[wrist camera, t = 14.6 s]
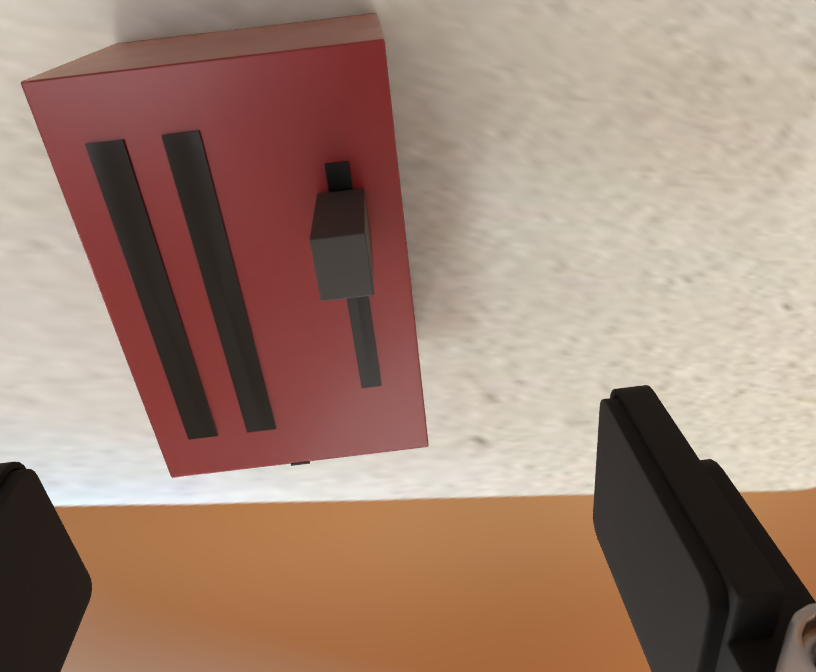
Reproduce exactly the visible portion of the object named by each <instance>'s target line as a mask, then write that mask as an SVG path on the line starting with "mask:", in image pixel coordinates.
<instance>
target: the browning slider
mask: <svg viewBox="0 0 816 672" xmlns="http://www.w3.org/2000/svg"><path fill="white" fill-rule="evenodd" d="M309 242H310V247H311V252H312V258H313V263H314V268H315V273H316V279H317V284H318V289H319V294H320V300H321V301H330V300H339V299H347V298H355V297H364V296H372V295H374V276H373V256H372V240H371V233H370V225H369V218H368V211H367V204H366V197H365V190H364V189H363V188H361V189H353V190H344V191H336V192H328V193H319V194H317V196H316V202H315V208H314V214H313V220H312V227H311V233H310V239H309Z"/></svg>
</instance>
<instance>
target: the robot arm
mask: <svg viewBox="0 0 816 672" xmlns="http://www.w3.org/2000/svg"><path fill="white" fill-rule="evenodd" d="M593 522H594V528H595V532H596V535H597V538H598V541H599V543H600V546H601V548H602V551H603V553H604V555H605V558H606V561H607V563H608V565H609V568H610V570H611V573H612V575H613V578H614V580H615V583H616V585H617V588H618V590H619V593H620V595H621V597H622V600H623V602H624V605H625V607H626V610H627V612H628V615H629V617H630V619H631V622H632V625H633V627H634V630H635V632H636V634H637V637H638V639H639V642H640V644H641V647H642V649H643V652H644V654H645V657H646V659H647V662H648V664H649V666H650V669H651V671H652V672H816V602H815V600H814V599H813V597H812V596H811V595H810V593H809V592H808V590H807V589H806V588H805V586H804V585H803V583H802V582H801V581H800V579H799V577H798V576H797V575H796V573H795V572H794V570H793V569H792V568H791V566H790V565H789V563H788V562H787V560H786V559H785V557H784V556H783V555H782V553H781V552H780V550H779V549H778V548H777V546H776V545H775V543H774V542H773V540H772V539H771V537H770V536H769V535H768V533H767V532H766V530H765V529H764V527H763V526H762V525H761V523H760V522H759V520H758V519H757V517H756V516H755V515H754V513H753V512H752V510H751V509H750V507H749V506H748V505H747V503H746V502H745V500H744V499H743V497H742V496H741V495H740V493H739V492H738V490H737V489H736V487H735V486H734V485H733V483H732V482H731V480H730V479H729V477H728V476H727V475H726V473H725V472H724V470H723V469H722V468H721V467H720V466H719V464H718V463H717V462H715V461H713V460H711V459H707V460H699V458H698V457H697V455H696V454H695V452H694V451H693V449H692V448H691V446H690V445H689V443H688V442H687V440H686V439H685V437H684V436H683V434H682V433H681V431H680V430H679V428H678V427H677V425H676V424H675V422H674V421H673V419H672V418H671V416H670V415H669V413H668V412H667V410H666V409H665V407H664V406H663V404H662V403H661V401H660V400H659V398H658V397H657V395H656V394H655V392H654V391H653V389H652V388H651V387H650V386H648V385H644V386H635V387H627V388H619V389H614V390H612V392H611V395H610V399H603V400H601V402H600V411H599V427H598V443H597V459H596V475H595V491H594V507H593ZM91 592H92V583H91V578H90V576H89V574H88V571H87V570H86V568H85V566H84V564H83V562H82V560H81V558H80V556H79V554H78V552H77V550H76V548H75V547H74V545H73V543H72V541H71V539H70V537H69V535H68V533H67V531H66V529H65V527H64V525H63V524H62V522H61V520H60V518H59V516H58V514H57V512H56V510H55V508H54V506H53V504H52V502H51V501H50V499H49V497H48V495H47V493H46V491H45V489H44V487H43V485H42V483H41V481H40V479H39V478H38V476H37V474H36V473H35V471H33V470H32V469H26V468H25V466H24V465H23V464H21V463H20V462H8V463H0V672H61V669H62V667H63V664H64V661H65V659H66V657H67V654H68V652H69V650H70V647H71V644H72V642H73V640H74V637H75V635H76V632H77V630H78V627H79V625H80V623H81V620H82V618H83V615H84V613H85V610H86V608H87V606H88V603H89V601H90V597H91Z"/></svg>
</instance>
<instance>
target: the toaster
mask: <svg viewBox="0 0 816 672" xmlns="http://www.w3.org/2000/svg"><path fill="white" fill-rule="evenodd" d="M21 85H22V88H23V90H24V93H25V96H26V98H27V101H28V103H29V106H30V109H31V111H32V114H33V116H34V119H35V122H36V124H37V127H38V130H39V132H40V135H41V137H42V140H43V143H44V145H45V148H46V150H47V153H48V156H49V158H50V161H51V164H52V166H53V169H54V171H55V174H56V177H57V179H58V182H59V184H60V187H61V190H62V192H63V195H64V198H65V200H66V203H67V205H68V208H69V211H70V213H71V216H72V218H73V221H74V224H75V226H76V229H77V232H78V234H79V237H80V239H81V242H82V245H83V247H84V250H85V253H86V255H87V258H88V260H89V263H90V266H91V268H92V271H93V273H94V276H95V279H96V281H97V284H98V287H99V289H100V292H101V294H102V297H103V300H104V302H105V305H106V307H107V310H108V313H109V315H110V318H111V321H112V323H113V326H114V328H115V331H116V334H117V336H118V339H119V341H120V344H121V347H122V349H123V352H124V355H125V357H126V360H127V362H128V365H129V368H130V370H131V373H132V376H133V378H134V381H135V383H136V386H137V389H138V391H139V394H140V396H141V399H142V402H143V404H144V407H145V410H146V412H147V415H148V417H149V420H150V423H151V425H152V428H153V430H154V433H155V436H156V438H157V441H158V444H159V446H160V449H161V451H162V454H163V457H164V459H165V462H166V464H167V467H168V470H169V472H170V475H171V477H172V478H175V477H183V476H191V475H199V474H208V473H216V472H224V471H232V470H240V469H249V468H257V467H265V466H273V465H282V464H290V463H291V466H293V465H301V464H310V461H315V460H323V459H331V458H339V457H348V456H356V455H364V454H372V453H381V452H389V451H397V450H405V449H413V448H422V447H428V435H427V426H426V417H425V408H424V399H423V389H422V380H421V371H420V362H419V353H418V343H417V334H416V325H415V316H414V307H413V298H412V288H411V279H410V270H409V261H408V252H407V242H406V233H405V224H404V215H403V206H402V196H401V187H400V178H399V169H398V160H397V151H396V141H395V132H394V123H393V114H392V105H391V95H390V86H389V77H388V68H387V59H386V49H385V41H384V37H383V34H382V30H381V27H380V24H379V20H378V17H377V14H376V13H373V14H364V15H356V16H347V17H339V18H330V19H322V20H313V21H305V22H296V23H288V24H279V25H271V26H262V27H254V28H245V29H237V30H228V31H220V32H211V33H202V34H194V35H185V36H177V37H168V38H160V39H151V40H143V41H134V42H126V43H117V44H114V45H111V46H109V47H106V48H104V49H101V50H99V51H96V52H94V53H91V54H89V55H86V56H84V57H81V58H79V59H76V60H74V61H71V62H69V63H66V64H64V65H61V66H59V67H56V68H54V69H51V70H49V71H46V72H44V73H41V74H39V75H36V76H34V77H32V78H29V79H27V80H24V81H22V82H21ZM361 188H363V189H364V190H365V197H366V204H367V211H368V218H369V225H370V233H371V240H372V256H373V276H374V295H372V296H364V297H355V298H347V299H339V300H330V301H321V300H320V294H319V289H318V284H317V279H316V273H315V268H314V263H313V258H312V252H311V247H310V242H309V239H310V233H311V227H312V220H313V214H314V208H315V202H316V196H317V194H319V193H328V192H336V191H344V190H353V189H361Z"/></svg>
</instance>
